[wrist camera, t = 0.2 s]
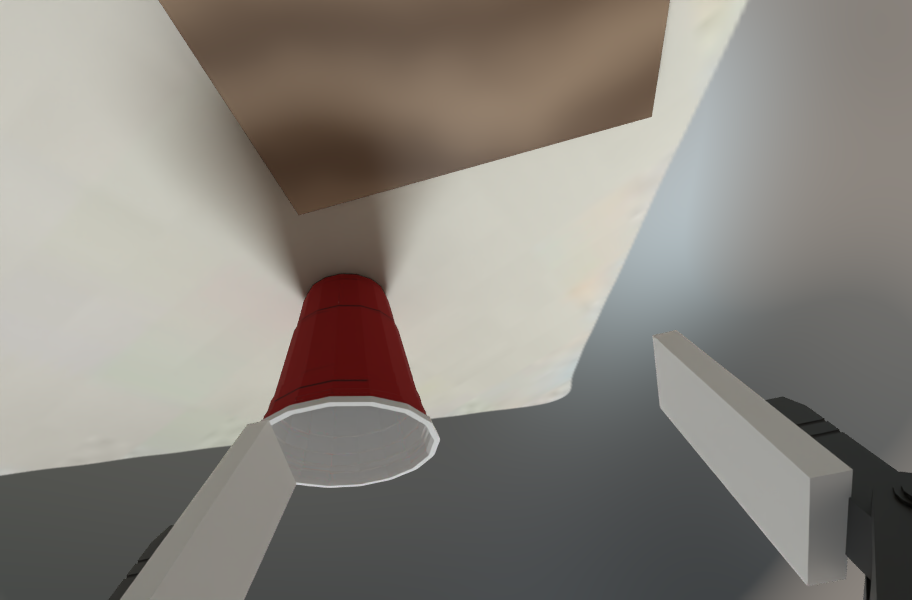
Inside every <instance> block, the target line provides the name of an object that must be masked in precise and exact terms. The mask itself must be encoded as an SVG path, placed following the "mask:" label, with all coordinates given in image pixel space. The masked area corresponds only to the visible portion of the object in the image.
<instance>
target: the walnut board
mask: <svg viewBox="0 0 912 600" xmlns="http://www.w3.org/2000/svg"><path fill="white" fill-rule="evenodd" d="M159 2H160V3H161V5H162V6H163V8H164V9H165V11H166V12H167V14H168V15H169V17H170V19H171V20H172V22H173V23H174V25H175V26H176V28H177V29H178V31H179V32H180V34H181V35H182V37H183V38H184V40H185V42H186V43H187V45H188V46H189V48H190V49H191V51H192V52H193V54H194V55H195V57H196V58H197V60H198V61H199V63H200V65H201V66H202V68H203V69H204V71H205V72H206V74H207V75H208V77H209V78H210V80H211V81H212V83H213V84H214V86H215V88H216V89H217V91H218V92H219V94H220V95H221V97H222V98H223V100H224V101H225V103H226V104H227V106H228V107H229V109H230V111H231V112H232V114H233V115H234V117H235V118H236V120H237V121H238V123H239V124H240V126H241V127H242V129H243V130H244V132H245V134H246V135H247V137H248V138H249V140H250V141H251V143H252V144H253V146H254V147H255V149H256V150H257V152H258V153H259V155H260V157H261V158H262V160H263V161H264V163H265V164H266V166H267V167H268V169H269V170H270V172H271V173H272V175H273V176H274V178H275V180H276V181H277V183H278V184H279V186H280V187H281V189H282V190H283V192H284V193H285V195H286V196H287V198H288V199H289V201H290V203H291V204H292V206H293V207H294V209H295V210H296V212H297V213H298V215H301V214H305V213H309V212H312V211H316V210H319V209H323V208H327V207H330V206H334V205H337V204H341V203H344V202H348V201H352V200H355V199H359V198H362V197H366V196H370V195H373V194H377V193H380V192H384V191H387V190H391V189H395V188H398V187H402V186H405V185H409V184H412V183H416V182H420V181H423V180H427V179H430V178H434V177H438V176H441V175H445V174H448V173H452V172H455V171H459V170H463V169H466V168H470V167H473V166H477V165H481V164H484V163H488V162H491V161H495V160H498V159H502V158H506V157H509V156H513V155H516V154H520V153H523V152H527V151H531V150H534V149H538V148H541V147H545V146H549V145H552V144H556V143H559V142H563V141H566V140H570V139H574V138H577V137H581V136H584V135H588V134H592V133H595V132H599V131H602V130H606V129H609V128H613V127H617V126H620V125H624V124H627V123H631V122H635V121H638V120H642V119H645V118H649V117H652V111H653V105H654V99H655V92H656V86H657V79H658V73H659V67H660V60H661V54H662V47H663V41H664V35H665V28H666V22H667V15H668V9H669V3H670V0H159Z"/></svg>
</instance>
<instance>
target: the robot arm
mask: <svg viewBox="0 0 912 600" xmlns="http://www.w3.org/2000/svg"><path fill="white" fill-rule="evenodd" d="M653 344H654V354H655V364H656V373H657V383H658V393H659V402H660V408H661V409H662V410H663V411H664V413H665V414H666V415H667V416H668V418H670V420H671V421H672V422H673V424H674V425H675V426H676V427H677V428H678V430H679V431H680V432H681V433H682V435H683V436H684V437H685V438H686V439H687V441H688V442H689V443H690V444H691V445H692V447H693V448H694V449H695V450H696V452H697V453H698V454H699V455H700V456H701V458H702V459H703V460H704V461H705V462H706V464H707V465H708V466H709V467H710V469H711V470H712V471H713V472H714V473H715V474H716V476H717V477H718V478H719V479H720V481H721V482H722V483H723V484H724V485H725V487H726V488H727V489H728V490H729V492H730V493H731V494H732V495H733V496H734V498H735V499H736V500H737V501H738V502H739V504H740V505H741V506H742V507H743V509H744V510H745V511H746V512H747V513H748V515H749V516H750V517H751V518H752V519H753V521H754V522H755V523H756V524H757V526H758V527H759V528H760V529H761V530H762V532H763V533H764V534H765V535H766V536H767V538H768V539H769V540H770V541H771V543H772V544H773V545H774V546H775V547H776V549H777V550H778V551H779V552H780V553H781V555H782V556H783V557H784V558H785V560H786V561H787V562H788V563H789V564H790V566H791V567H792V568H793V569H794V570H795V572H796V573H797V574H798V575H799V576H800V578H801V579H802V580H803V581H804V583H805V584H806V585H807V586H811V585H817V584H822V583H827V582H833V581H838V580H844V579H846V572H847V557H849V559H851V561H852V562H853V563H854V564H855V565H856V566H857V567H858V568H859V569H860V570H861V571H862V572H863V573H864V574H865V586H864V598H863V600H912V473H906V472H898V471H897V470H895V469H894V468H892V467H891V466H890V465H888V464H887V463H885V462H884V461H883V460H881V459H880V458H878V457H877V456H876V455H874V454H873V453H871V452H870V451H868V450H867V449H866V448H864V447H863V446H861V445H860V444H859V443H857V442H856V441H855V440H853V439H852V438H850V437H849V436H848V435H846V434H845V433H843V432H840V431H839V429H838V428H836V427H835V426H834V425H832V424H831V423H829V422H828V421H827V422H826V421H825V420H824V418H822V417H821V416H820V415H818V414H817V413H815V412H814V411H813V410H811V409H810V408H808V407H807V406H805V405H803V404H800V403H798V402H795V401H793V400H790V399H787V398H785V397H779V398H774V399H769V400H764V399H763V398H761V397H760V396H759V395H758V394H756V393H755V392H754V391H753V390H751V389H750V388H749V387H747V386H746V385H745V384H744V383H742V382H741V381H740V380H739V379H737V378H736V377H735V376H734V375H732V374H731V373H730V372H729V371H727V370H726V369H725V368H723V367H722V366H721V365H720V364H718V363H717V362H715V360H713V359H712V358H711V357H709V356H708V355H707V354H706V353H705V352H703V351H702V350H701V349H699V348H698V347H697V346H696V345H694V344H693V343H692V342H691V341H689V340H688V339H687V338H686V337H684V336H683V335H682V334H680V333H679V332H678V331H676V330H675V331H670V332H666V333H661V334H656V335H653ZM295 486H296V482H295V479H294V477H293V475H292V472H291V470H290V468H289V466H288V463H287V461H286V459H285V456H284V454H283V452H282V449H281V447H280V445H279V443H278V440H277V438H276V436H275V433H274V431H273V429H272V426H271V424H270V422H269V420H265V421H261V422H256V423H252V424H247V426H246V427H245V428H244V430H243V431H242V433H241V434H240V435H239V437H238V438H237V439H236V441H235V442H234V444H233V445H232V446H231V448H230V449H229V450H228V452H227V453H226V455H225V456H224V457H223V459H222V460H221V462H220V463H219V464H218V466H217V467H216V468H215V470H214V471H213V472H212V474H211V475H210V477H209V478H208V479H207V481H206V482H205V483H204V485H203V486H202V488H201V489H200V491H199V492H198V493H197V494H196V496H195V497H194V499H193V500H192V501H191V503H190V504H189V505H188V507H187V508H186V510H185V511H184V512H183V514H182V515H181V516H180V518H179V519H178V521H177V522H176V523H175V525H171V526H169V527H168V528H167V529H166V530H165V531H164V532H163V533H161V534H160V535H159V536H158V537H157V538H156V539H155V540H154V541H153V542H152V543H151V544H150V545H149V547H148V548H147V549H146V550H145V552H144V553H143V554H142V556H141V557H140V558H139V560H138V564H135V565H134V566H133V568H132V569H131V570H130V572H129V573H128V574H127V578H126V579H124V580H123V581H122V582H121V584H120V585H119V586H118V588H117V589H116V590H115V592H114V593H113V594H112V596H111V597H110V598H109V600H244V598H245V596H246V594H247V592H248V590H249V587H250V585H251V583H252V581H253V579H254V576H255V574H256V572H257V570H258V567H259V565H260V563H261V561H262V559H263V556H264V554H265V552H266V550H267V548H268V545H269V543H270V541H271V539H272V536H273V534H274V532H275V530H276V528H277V525H278V523H279V521H280V519H281V517H282V514H283V512H284V510H285V508H286V505H287V503H288V501H289V499H290V497H291V494H292V492H293V490H294V488H295Z"/></svg>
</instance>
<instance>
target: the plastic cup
mask: <svg viewBox="0 0 912 600" xmlns="http://www.w3.org/2000/svg"><path fill="white" fill-rule="evenodd" d="M265 420H269V422H270V424H271V426H272V429H273V431H274V433H275V436H276V438H277V440H278V443H279V445H280V447H281V449H282V452H283V454H284V456H285V459H286V461H287V463H288V466H289V468H290V470H291V472H292V475H293V477H294V479H295V482H296V484H297V485H306V486H316V487H326V488H330V487H350V486H363V485H367V484H372V483H377V482H382V481H387V480H391V479H394V478H396V477H399V476H401V475H403V474H406V473H408V472H411V471H413V470H415V469H417V468H419V467H420V466H421V465H422V464H423V463H425V462H426V461H427V460H429V459H430V458H431V457H432V456H434V454H435V451H436V449H437V446H438V444H439V441H440V438H439V435H438V433H437V431H436V429H435V427H434V425H433V423H432V421H431V419H430V417H429V416H427V415H426V412H425V410H424V408H423V406H422V403H421V400H420V396H419V394H418V392H417V391H416V387H415V384H414V381H413V377H412V374H411V371H410V367H409V364H408V361H407V357H406V354H405V351H404V347H403V344H402V341H401V337H400V334H399V331H398V329H397V327H396V325H395V322H394V319H393V315H392V312H391V308H390V305H389V302H388V300H387V297H386V295H385V293H384V292H383V290H382V288H381V286H380V285H378V284H377V283H376V282H374V281H373V280H372V279H369V278H366V277H363V276H360V275H357V274H338V275H334V276H330V277H326V278H324V279H322V280H320V281H319V282H317V283H316V284H314V285H313V286H312V288H311V289H310V291H309V292H308V294H307V297H306V298H305V300H304V302H303V306H302V310H301V313H300V317H299V321H298V324H297V327H296V329H295V330H294V333H293V336H292V339H291V343H290V346H289V349H288V353H287V356H286V359H285V362H284V366H283V369H282V372H281V376H280V379H279V382H278V385H277V389H276V392H275V395H274V397H273V399H272V400H271V403H270V406H269V409H268V411H267V413H266V414H265V416H264V418H263V420H261V421H265ZM261 421H260V422H261Z"/></svg>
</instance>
